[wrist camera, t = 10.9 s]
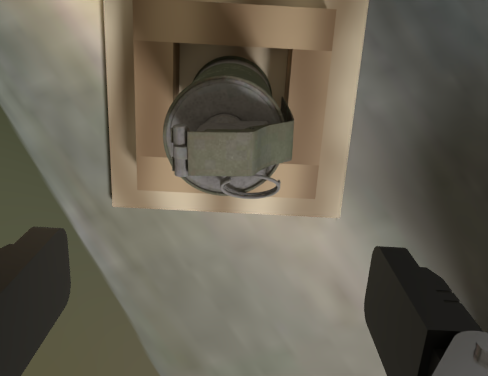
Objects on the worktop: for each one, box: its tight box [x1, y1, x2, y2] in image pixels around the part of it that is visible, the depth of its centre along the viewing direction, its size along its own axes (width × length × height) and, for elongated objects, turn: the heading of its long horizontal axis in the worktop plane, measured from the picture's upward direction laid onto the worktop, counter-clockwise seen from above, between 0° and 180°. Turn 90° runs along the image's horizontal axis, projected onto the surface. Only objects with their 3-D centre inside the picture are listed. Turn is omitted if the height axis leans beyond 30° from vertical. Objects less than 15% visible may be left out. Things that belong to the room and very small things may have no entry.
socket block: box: [103, 0, 369, 218], centre depth 33 cm, size 18×18×4 cm
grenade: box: [163, 56, 294, 199], centre depth 27 cm, size 6×6×15 cm
